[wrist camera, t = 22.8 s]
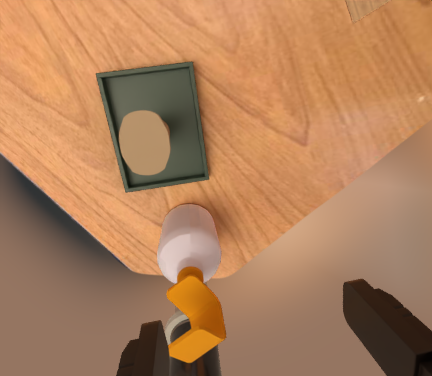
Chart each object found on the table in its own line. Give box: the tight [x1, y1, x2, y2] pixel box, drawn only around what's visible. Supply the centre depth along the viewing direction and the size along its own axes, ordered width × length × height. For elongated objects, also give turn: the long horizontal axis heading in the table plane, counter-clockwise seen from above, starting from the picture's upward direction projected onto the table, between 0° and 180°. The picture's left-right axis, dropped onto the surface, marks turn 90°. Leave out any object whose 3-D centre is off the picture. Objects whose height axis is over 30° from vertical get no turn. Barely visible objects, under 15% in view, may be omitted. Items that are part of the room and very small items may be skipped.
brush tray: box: [96, 62, 209, 193], centre depth 40 cm, size 17×13×2 cm
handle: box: [119, 110, 171, 175], centre depth 33 cm, size 5×6×15 cm
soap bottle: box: [157, 204, 226, 363], centre depth 35 cm, size 9×9×25 cm
